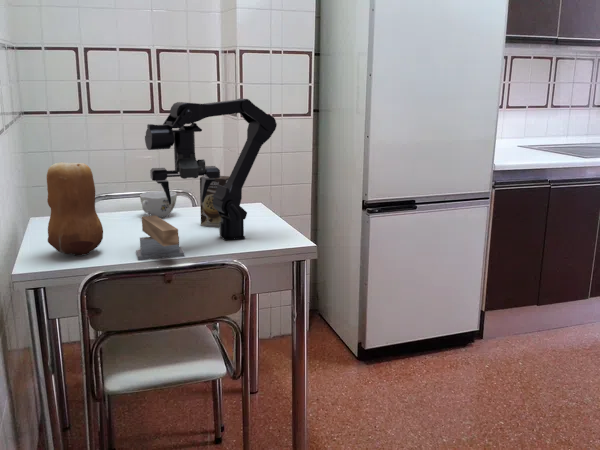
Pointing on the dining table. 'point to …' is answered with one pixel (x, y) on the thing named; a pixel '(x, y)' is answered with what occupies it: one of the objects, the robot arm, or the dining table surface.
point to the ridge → (157, 250)
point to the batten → (160, 230)
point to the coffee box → (211, 203)
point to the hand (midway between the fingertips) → (186, 203)
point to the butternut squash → (72, 209)
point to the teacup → (157, 203)
